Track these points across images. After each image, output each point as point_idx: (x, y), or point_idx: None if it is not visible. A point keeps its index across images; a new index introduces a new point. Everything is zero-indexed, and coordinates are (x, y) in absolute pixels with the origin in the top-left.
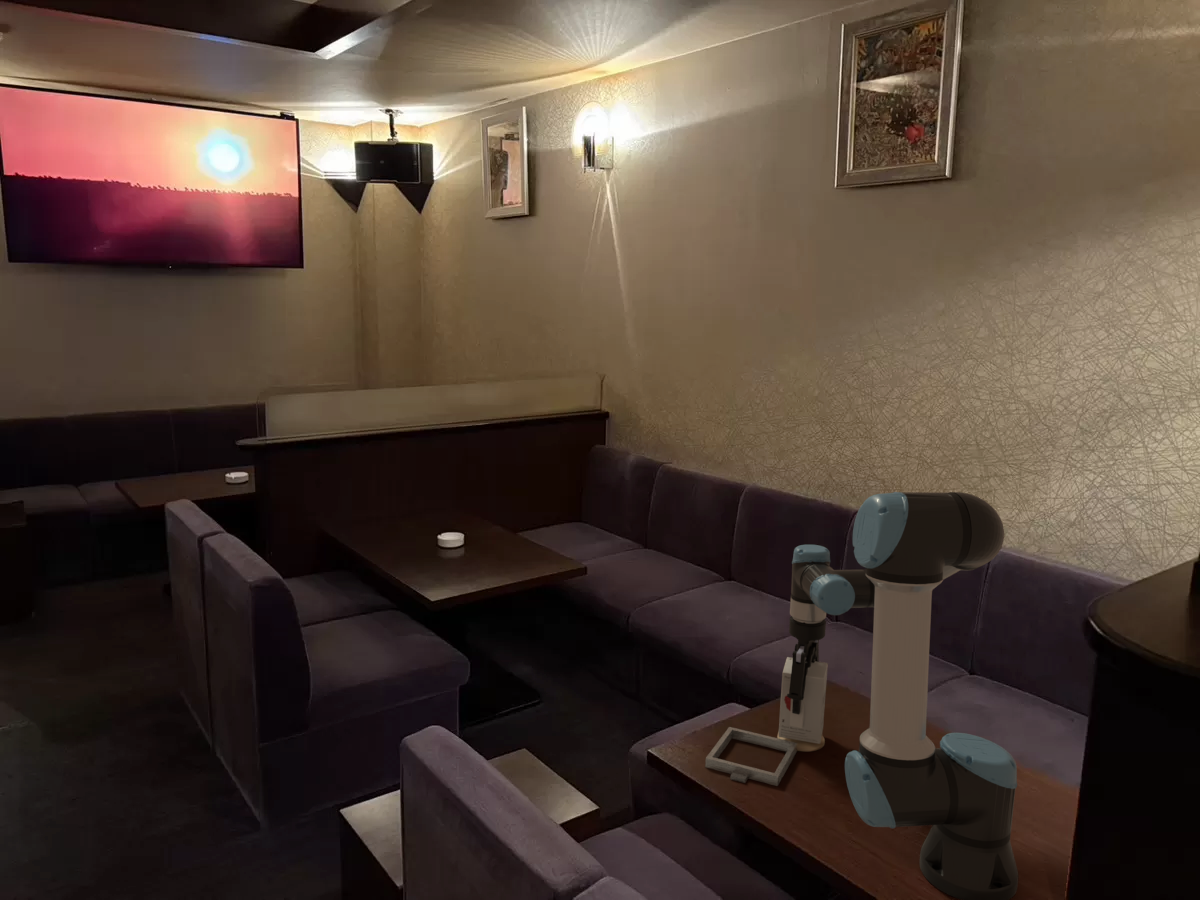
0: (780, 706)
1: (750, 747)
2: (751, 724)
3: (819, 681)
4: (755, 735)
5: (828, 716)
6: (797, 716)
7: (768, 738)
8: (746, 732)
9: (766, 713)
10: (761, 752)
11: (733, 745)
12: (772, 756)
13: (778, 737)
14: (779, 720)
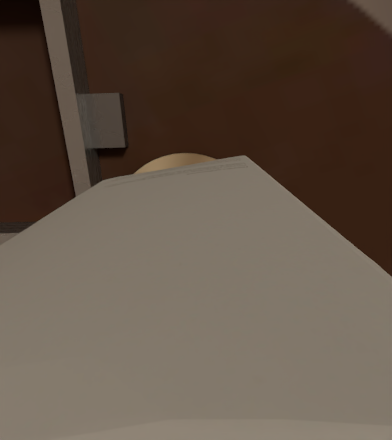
0: (31, 225)
1: (42, 92)
2: (210, 29)
3: None
4: (58, 96)
5: (378, 258)
6: None
7: (67, 151)
8: (55, 51)
9: (330, 56)
10: (38, 139)
11: (12, 23)
12: (39, 178)
13: (144, 166)
14: (75, 197)
